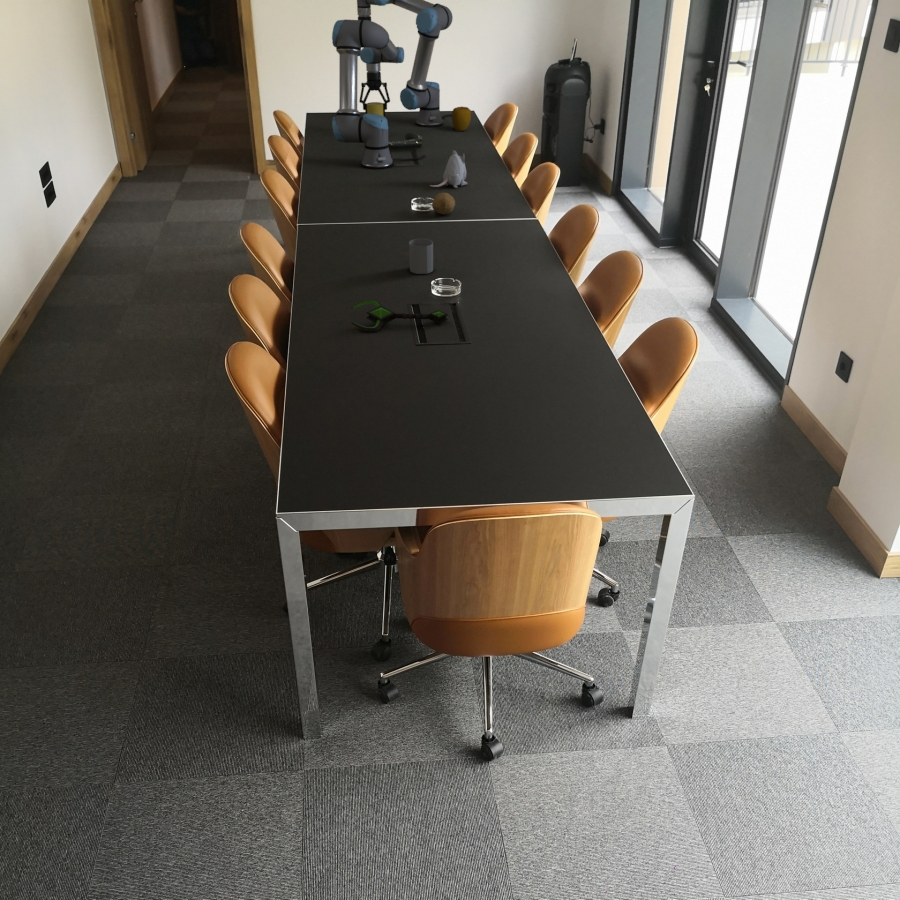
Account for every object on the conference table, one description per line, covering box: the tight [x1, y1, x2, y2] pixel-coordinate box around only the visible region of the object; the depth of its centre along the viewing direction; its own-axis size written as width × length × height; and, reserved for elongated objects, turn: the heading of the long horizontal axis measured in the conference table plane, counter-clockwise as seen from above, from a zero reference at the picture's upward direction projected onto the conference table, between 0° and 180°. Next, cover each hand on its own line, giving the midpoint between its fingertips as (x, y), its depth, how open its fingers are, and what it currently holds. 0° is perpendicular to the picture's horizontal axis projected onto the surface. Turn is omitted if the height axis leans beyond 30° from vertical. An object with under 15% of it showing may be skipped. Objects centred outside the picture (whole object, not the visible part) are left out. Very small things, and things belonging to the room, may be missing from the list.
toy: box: [428, 149, 468, 189], centre depth 390 cm, size 9×24×15 cm, turn 137°
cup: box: [408, 237, 434, 275], centre depth 305 cm, size 8×8×10 cm
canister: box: [366, 101, 384, 116], centre depth 471 cm, size 9×9×12 cm
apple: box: [451, 105, 472, 132], centre depth 487 cm, size 11×11×13 cm
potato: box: [431, 192, 456, 216], centre depth 360 cm, size 10×14×8 cm
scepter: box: [350, 299, 449, 332], centre depth 268 cm, size 6×13×30 cm
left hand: (375, 116), depth 472 cm, fingers closed on canister, 9 cm apart
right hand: (366, 57), depth 496 cm, fingers open, 13 cm apart
